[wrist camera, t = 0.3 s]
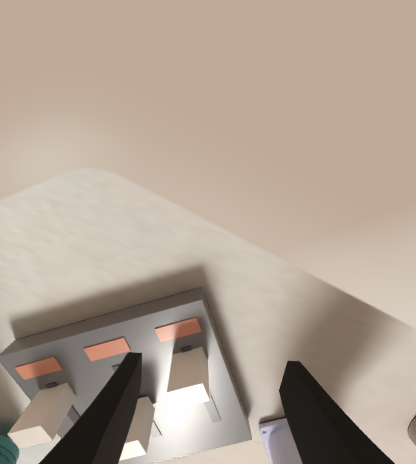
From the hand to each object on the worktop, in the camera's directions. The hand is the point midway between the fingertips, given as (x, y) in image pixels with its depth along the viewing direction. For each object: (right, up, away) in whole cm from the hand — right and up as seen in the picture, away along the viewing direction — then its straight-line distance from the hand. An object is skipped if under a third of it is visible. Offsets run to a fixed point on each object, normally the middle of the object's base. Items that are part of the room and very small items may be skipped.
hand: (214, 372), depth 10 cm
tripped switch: (-8, -11, +11) cm, 17 cm away
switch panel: (-8, -10, +13) cm, 19 cm away
